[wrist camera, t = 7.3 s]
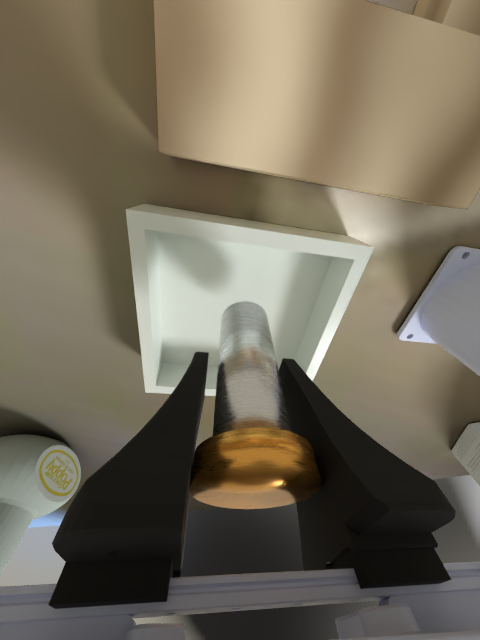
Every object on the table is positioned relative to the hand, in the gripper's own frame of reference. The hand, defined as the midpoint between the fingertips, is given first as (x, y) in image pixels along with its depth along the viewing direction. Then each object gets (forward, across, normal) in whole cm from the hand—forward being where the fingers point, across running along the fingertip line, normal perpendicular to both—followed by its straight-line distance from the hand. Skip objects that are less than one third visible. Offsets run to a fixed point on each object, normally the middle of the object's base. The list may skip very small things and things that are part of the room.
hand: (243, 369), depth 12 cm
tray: (+6, 0, 0) cm, 6 cm away
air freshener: (+7, +20, +21) cm, 30 cm away
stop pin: (+3, 0, -1) cm, 4 cm away
